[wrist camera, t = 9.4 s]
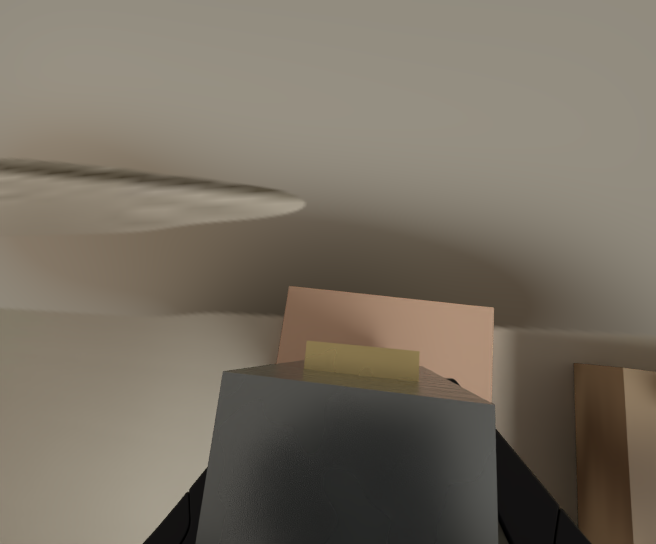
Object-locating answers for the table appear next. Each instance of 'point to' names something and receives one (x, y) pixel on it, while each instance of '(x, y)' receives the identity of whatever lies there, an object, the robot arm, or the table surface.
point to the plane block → (616, 453)
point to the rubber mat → (395, 331)
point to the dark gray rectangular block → (349, 454)
